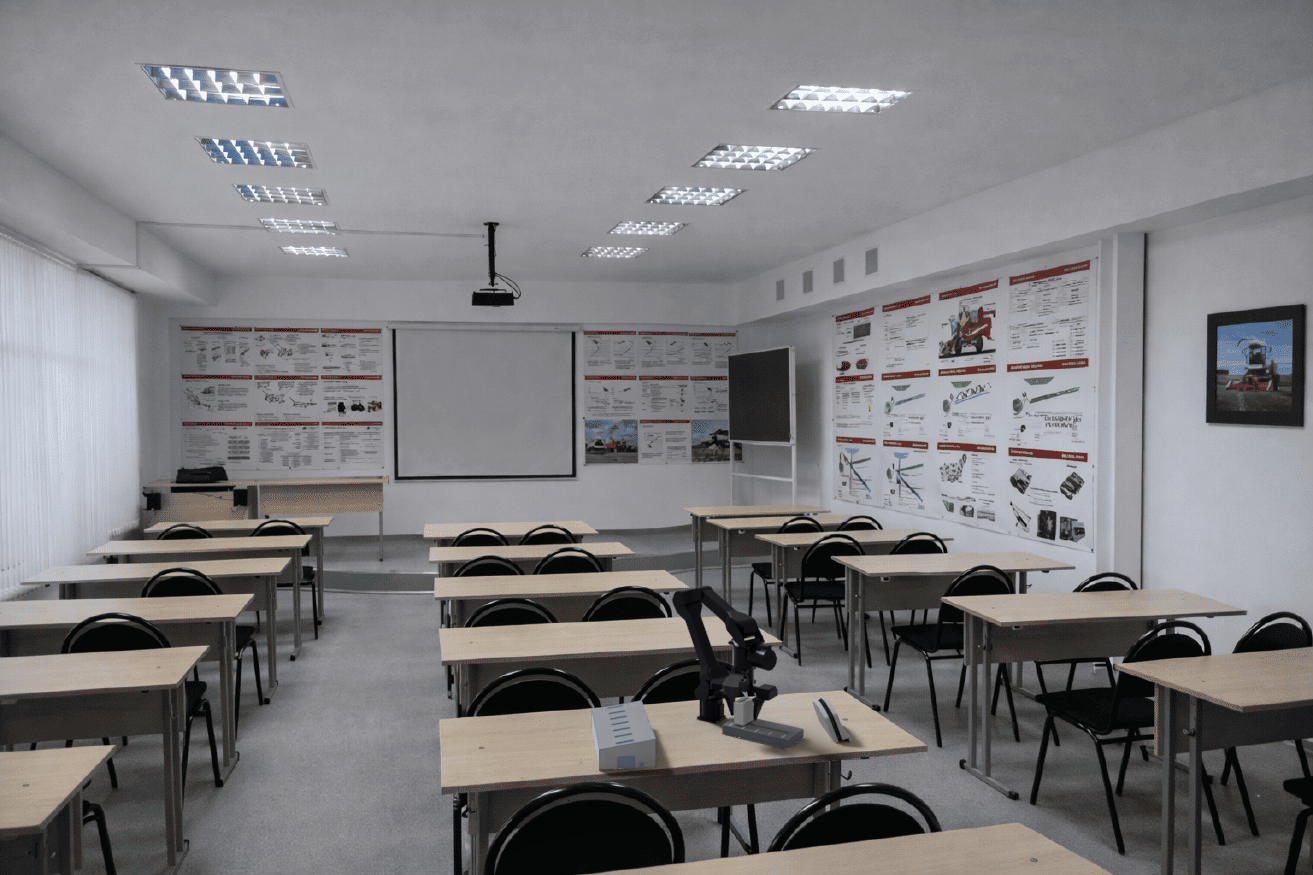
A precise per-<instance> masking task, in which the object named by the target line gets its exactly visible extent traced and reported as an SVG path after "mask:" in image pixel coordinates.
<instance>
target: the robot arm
mask: <svg viewBox="0 0 1313 875" xmlns="http://www.w3.org/2000/svg"><path fill="white" fill-rule="evenodd" d="M671 602H672V605H673V607H674V609H675V612H676V614H677V615H679V616H680V618H682V619H683V620H684V622H685V624H686V627H687V630H688V632H689V636H690V638H691V642H692V645H693V648H694V650H695V654H696V656H697V659H698V662H699V665H700V670H699V677H698V679H699V683H700V684H699V685H698V686H697V687H696V688H695V689H694V698H695V699H697V700H699V715H698V716H696V719H697V720H700V721H705V722H709V723H713V724H714V723H715V724H716V723H718V722H720V721H722V720H723V719H725V718H726V717H727V716H726V714H725V703H726V706H727V707H728V708H727V709H728V712H729V714H730V716H732V717H734V702H735V701H736V697H737V698H738V697H739V696H741V693H745V694H746V693H752V694H755V696H754V697H752V698H753V699H752V701H753V719H754V721H756V720H757V719H759V718H758V717H759V715H760V713H761V710H762V708H763V706H764V704H765V702H767V701H771V700H772V699H775V698H776V697H778V696H779V695H778V694H779V693H778V690H779V689H778V688H777V686H776V685H775V684H774V685H773V684H768V683H764V684H761V685H760V686H756V684H757V680H756V679H755V670H756V669H761V670H763V671H768V672H770V671H773V670H774V668H776V665H777V662H778V656H777V654H776V652H775V650H773V649H772V645H771V644H768V643H767V644H765V643H766V640H765V639H764V636H763V634H762V632H761V630H760V628H759V625H758V622H757V621H756V619H755V618H754V617H752V616H750V615H749V614H747V613H745V612H742V611H739V610H736V609H735V608H734V607H733V606H732V605H730V604H729V603H728V602H727V601H726V600H725V599H724V598H722V597H721V596H720V595H719V594H718V593H717V592H716V591H715V590H714V588H713V587H712V586H711V585H710V586H709V585H701V586H697V587H695V588H688V589H680V590H676V591H675V592H674V593H673V596H672V599H671ZM703 605H704V606H705V607H706V608H707V609H708V610H710V612H712V613H713V614H714V615H715V616H716V617H717V618H719V620H720V621H722V622H723V623H724V626H725V630H726V631H727V633H728V634H729V636H731V639H730V640H729V641H727V644H728V645H730V646H732V647H733V649H732V650H733V665H732V666H731V667H730V673H729V670H728V668H727V666H726V664H720V663H719V662H718V661H717V659H716V658H717V657H716V656H715V652H714V649H713V647H712V644H711V642H710V641H711V640H710V637H709V636H708V632H707V630H706V627H705V625H704V624H705V623H704V621H703V618H702V611H703V610H702V609H703ZM724 701H725V703H724Z"/></svg>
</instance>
